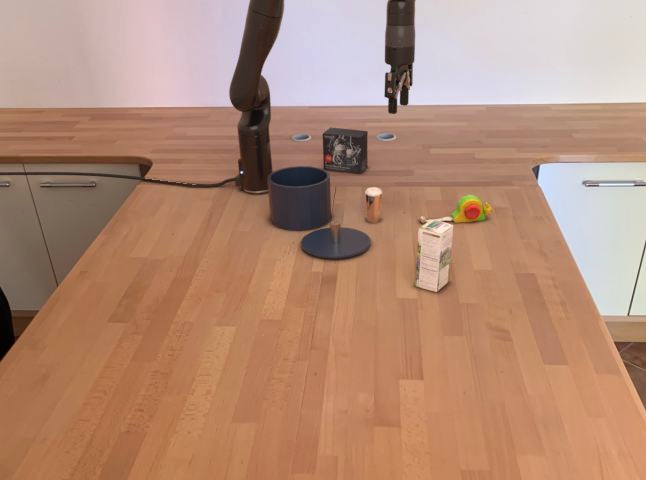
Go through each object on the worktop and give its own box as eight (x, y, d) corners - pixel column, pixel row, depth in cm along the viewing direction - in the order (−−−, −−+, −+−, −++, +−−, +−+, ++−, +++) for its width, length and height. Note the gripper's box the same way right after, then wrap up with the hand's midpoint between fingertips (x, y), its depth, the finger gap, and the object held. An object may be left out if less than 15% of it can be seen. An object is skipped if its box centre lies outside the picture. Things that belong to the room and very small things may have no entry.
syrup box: (426, 276, 164) (429, 218, 156) (449, 283, 161) (453, 223, 153) (414, 286, 160) (417, 227, 152) (437, 293, 157) (441, 233, 149)
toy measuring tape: (494, 222, 189) (496, 199, 185) (422, 227, 188) (423, 203, 184) (488, 213, 194) (490, 190, 191) (417, 217, 193) (418, 194, 190)
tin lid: (290, 255, 175) (289, 232, 172) (315, 228, 189) (314, 206, 186) (358, 264, 170) (358, 241, 167) (378, 235, 184) (379, 213, 181)
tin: (261, 227, 191) (257, 184, 184) (285, 204, 204) (282, 163, 198) (318, 233, 186) (316, 190, 180) (339, 210, 199) (338, 168, 193)
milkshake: (383, 224, 190) (383, 188, 185) (363, 223, 191) (363, 187, 186) (385, 217, 194) (386, 182, 188) (366, 216, 195) (366, 181, 189)
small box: (322, 170, 228) (321, 133, 221) (330, 163, 233) (329, 127, 227) (361, 174, 224) (360, 136, 217) (368, 167, 229) (368, 130, 222)
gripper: (395, 37, 183) (394, 101, 192) (375, 47, 173) (374, 114, 182) (423, 38, 181) (420, 103, 190) (404, 49, 170) (402, 117, 179)
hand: (398, 109), depth 186 cm, fingers open, 8 cm apart
